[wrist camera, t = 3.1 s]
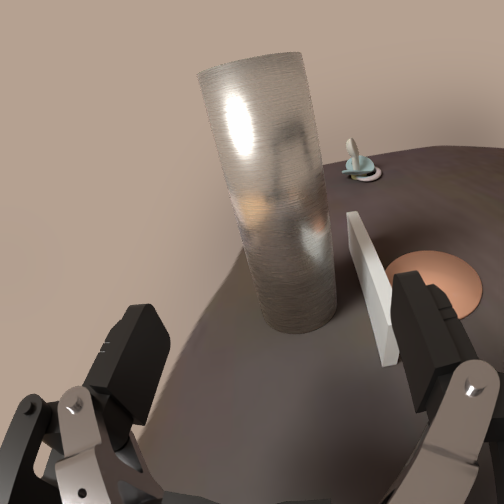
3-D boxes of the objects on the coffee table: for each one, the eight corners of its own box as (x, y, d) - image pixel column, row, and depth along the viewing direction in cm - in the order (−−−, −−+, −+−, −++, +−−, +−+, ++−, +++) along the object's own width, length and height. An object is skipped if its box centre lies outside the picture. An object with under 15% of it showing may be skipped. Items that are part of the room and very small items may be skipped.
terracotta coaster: (435, 243, 26) (435, 240, 26) (499, 291, 18) (500, 289, 18) (363, 275, 25) (362, 272, 25) (426, 342, 17) (427, 339, 17)
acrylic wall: (349, 249, 29) (346, 212, 27) (359, 247, 29) (356, 211, 27) (382, 367, 17) (388, 325, 15) (396, 364, 17) (404, 322, 15)
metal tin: (317, 273, 27) (280, 60, 18) (350, 315, 22) (319, 48, 12) (254, 296, 26) (193, 78, 17) (276, 344, 21) (202, 68, 12)
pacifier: (383, 170, 46) (348, 168, 48) (381, 133, 42) (345, 133, 45) (379, 186, 40) (340, 184, 43) (378, 144, 37) (336, 143, 40)
